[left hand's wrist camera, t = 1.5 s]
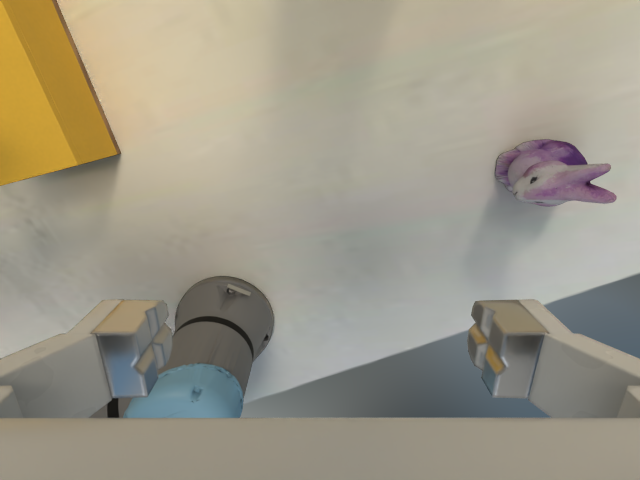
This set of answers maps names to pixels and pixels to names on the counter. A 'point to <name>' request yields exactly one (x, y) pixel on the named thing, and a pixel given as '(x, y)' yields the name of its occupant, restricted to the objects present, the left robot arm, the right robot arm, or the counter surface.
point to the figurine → (551, 174)
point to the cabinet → (45, 96)
